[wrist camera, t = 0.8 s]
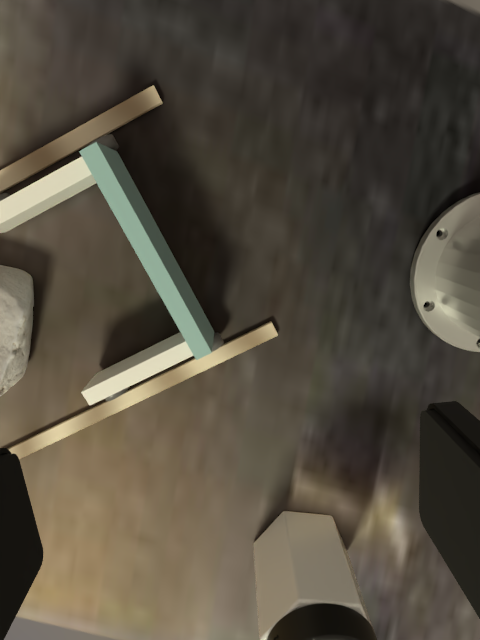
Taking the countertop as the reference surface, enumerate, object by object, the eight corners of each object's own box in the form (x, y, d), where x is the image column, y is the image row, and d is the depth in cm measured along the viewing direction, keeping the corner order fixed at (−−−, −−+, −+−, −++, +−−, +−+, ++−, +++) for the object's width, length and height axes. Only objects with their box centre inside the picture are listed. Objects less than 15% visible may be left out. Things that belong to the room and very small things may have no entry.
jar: (241, 524, 40) (246, 656, 28) (324, 494, 39) (364, 616, 28) (276, 595, 42) (294, 744, 31) (355, 568, 42) (404, 709, 30)
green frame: (116, 136, 31) (94, 124, 26) (224, 338, 35) (223, 361, 30) (-10, 205, 32) (-55, 206, 27) (109, 393, 36) (90, 424, 31)
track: (154, 86, 30) (153, 84, 30) (277, 333, 35) (278, 335, 35) (-210, 289, 33) (-216, 290, 33) (-50, 490, 38) (-53, 493, 38)
